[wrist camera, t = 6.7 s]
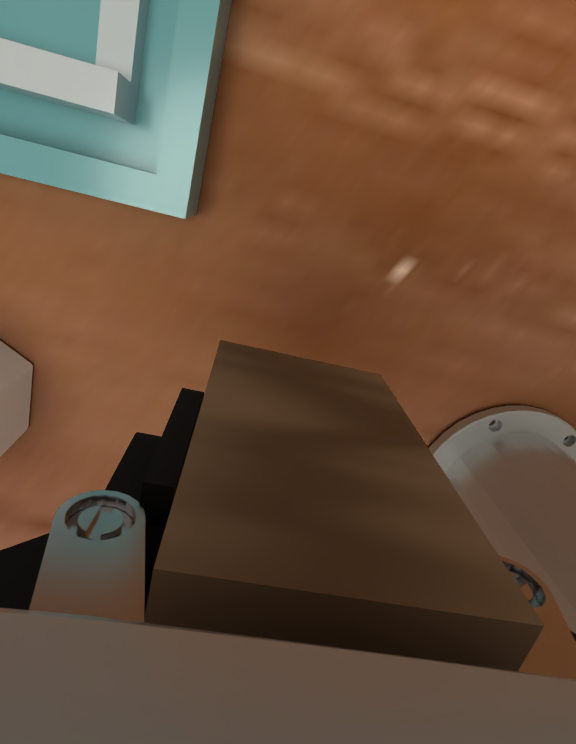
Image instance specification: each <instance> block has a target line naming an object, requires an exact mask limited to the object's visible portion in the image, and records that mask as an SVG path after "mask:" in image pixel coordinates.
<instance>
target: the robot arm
mask: <svg viewBox="0 0 576 744" xmlns="http://www.w3.org/2000/svg"><path fill="white" fill-rule="evenodd" d="M203 398H204V392H200V391H195V390H190V389H185V388H182V390H181V392H180V394H179V397H178V399H177V402H176V404H175V406H174V409H173V411H172V413H171V416H170V418H169V421H168V423H167V425H166V428H165V430H164V432H163V435H162V437H160V436H155V435H150V434H144V433H139V432H137V433H136V434H135V435H134V437H133V439H132V441H131V443H130V444H129V446H128V448H127V450H126V452H125V454H124V456H123V457H122V459H121V461H120V463H119V465H118V467H117V469H116V470H115V472H114V474H113V476H112V478H111V480H110V482H109V484H108V485H107V487H106V489H105V490H96V491H89V492H85V493H81V494H78V495H76V496H74V497H72V498H70V499H68V500H66V501H65V502H64V503H63V504H62V505H61V506H60V507H59V508H58V510H57V512H56V514H55V516H54V519H53V523H52V527H51V530H50V533H48V534H45V535H43V536H40V537H37V538H34V539H31V540H29V541H26V542H23V543H20V544H17V545H15V546H12V547H9V548H6V549H3V550H1V551H0V744H576V430H575V429H574V428H573V427H572V426H571V425H570V424H568V423H567V422H565V421H564V420H563V419H561V418H560V417H558V416H557V415H555V414H553V413H550V412H548V411H546V410H544V409H540V408H535V407H530V406H515V405H509V406H502V407H496V408H491V409H488V410H485V411H482V412H478V413H475V414H473V415H471V416H469V417H467V418H465V419H463V420H461V421H459V422H458V423H456V424H455V425H454V426H452V427H451V428H449V429H448V430H447V431H445V432H444V433H443V434H442V435H441V436H440V437H439V438H438V439H437V440H436V441H435V442H434V443H433V444H432V445H431V446H430V448H429V450H430V451H431V453H432V455H433V456H434V458H435V459H436V461H437V462H438V464H439V465H440V467H441V468H442V470H443V471H444V473H445V474H446V476H447V477H448V479H449V481H450V482H451V484H452V485H453V487H454V488H455V490H456V491H457V493H458V494H459V496H460V497H461V499H462V500H463V502H464V504H465V505H466V507H467V508H468V510H469V511H470V513H471V514H472V516H473V517H474V519H475V520H476V522H477V523H478V525H479V526H480V528H481V530H482V531H483V533H484V534H485V536H486V537H487V539H488V540H489V542H490V543H491V545H492V546H493V548H494V549H495V551H496V553H497V554H498V556H499V557H500V559H501V560H502V562H503V563H504V565H505V566H506V568H507V569H508V571H509V572H510V574H511V575H512V577H513V579H514V580H515V582H516V583H517V585H518V586H519V588H520V589H521V591H522V592H523V594H524V595H525V597H526V598H527V600H528V602H529V603H530V605H531V606H532V608H533V609H534V611H535V612H536V614H537V615H538V617H539V618H540V620H541V621H542V623H543V624H544V628H543V630H542V631H541V633H540V635H539V636H538V638H537V640H536V642H535V643H534V645H533V647H532V648H531V650H530V652H529V653H528V655H527V657H526V658H525V660H524V662H523V664H522V665H521V667H520V669H519V670H518V671H511V670H504V669H496V668H489V667H482V666H474V665H467V664H460V663H452V662H445V661H437V660H430V659H422V658H415V657H407V656H400V655H392V654H385V653H377V652H369V651H362V650H354V649H346V648H339V647H331V646H324V645H316V644H308V643H301V642H293V641H285V640H277V639H269V638H261V637H253V636H245V635H237V634H229V633H221V632H213V631H206V630H198V629H190V628H182V627H174V626H166V625H158V624H150V623H144V618H145V612H146V607H147V601H148V596H149V590H150V584H151V579H152V573H153V568H154V565H155V561H156V558H157V555H158V551H159V548H160V544H161V541H162V538H163V534H164V531H165V527H166V524H167V521H168V517H169V514H170V510H171V507H172V504H173V500H174V497H175V493H176V490H177V487H178V483H179V480H180V476H181V473H182V469H183V466H184V463H185V459H186V456H187V452H188V449H189V446H190V442H191V439H192V435H193V432H194V429H195V425H196V422H197V418H198V415H199V412H200V408H201V405H202V401H203Z"/></svg>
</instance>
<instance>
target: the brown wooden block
mask: <svg viewBox="0 0 576 744" xmlns="http://www.w3.org/2000/svg"><path fill="white" fill-rule="evenodd" d="M144 623H150V624H158V625H166V626H174V627H182V628H190V629H198V630H206V631H213V632H221V633H229V634H237V635H245V636H253V637H261V638H269V639H277V640H285V641H293V642H301V643H308V644H316V645H324V646H331V647H339V648H346V649H354V650H362V651H369V652H377V653H385V654H392V655H400V656H407V657H415V658H422V659H430V660H437V661H445V662H452V663H460V664H467V665H474V666H482V667H489V668H496V669H504V670H511V671H518V670H519V669H520V667H521V665H522V664H523V662H524V660H525V658H526V657H527V655H528V653H529V652H530V650H531V648H532V647H533V645H534V643H535V642H536V640H537V638H538V636H539V635H540V633H541V631H542V630H543V628H544V624H543V623H542V621H541V620H540V618H539V617H538V615H537V614H536V612H535V611H534V609H533V608H532V606H531V605H530V603H529V602H528V600H527V598H526V597H525V595H524V594H523V592H522V591H521V589H520V588H519V586H518V585H517V583H516V582H515V580H514V579H513V577H512V575H511V574H510V572H509V571H508V569H507V568H506V566H505V565H504V563H503V562H502V560H501V559H500V557H499V556H498V554H497V553H496V551H495V549H494V548H493V546H492V545H491V543H490V542H489V540H488V539H487V537H486V536H485V534H484V533H483V531H482V530H481V528H480V526H479V525H478V523H477V522H476V520H475V519H474V517H473V516H472V514H471V513H470V511H469V510H468V508H467V507H466V505H465V504H464V502H463V500H462V499H461V497H460V496H459V494H458V493H457V491H456V490H455V488H454V487H453V485H452V484H451V482H450V481H449V479H448V477H447V476H446V474H445V473H444V471H443V470H442V468H441V467H440V465H439V464H438V462H437V461H436V459H435V458H434V456H433V455H432V453H431V451H430V450H429V448H428V447H427V445H426V444H425V442H424V441H423V439H422V438H421V436H420V435H419V433H418V432H417V430H416V429H415V427H414V425H413V424H412V422H411V421H410V419H409V418H408V416H407V415H406V413H405V412H404V410H403V409H402V407H401V406H400V404H399V402H398V401H397V399H396V398H395V396H394V395H393V393H392V392H391V390H390V389H389V387H388V386H387V384H386V383H385V381H384V380H383V378H382V376H381V375H379V374H375V373H370V372H365V371H361V370H356V369H351V368H347V367H342V366H338V365H333V364H328V363H324V362H319V361H314V360H310V359H305V358H301V357H296V356H291V355H287V354H282V353H277V352H273V351H268V350H263V349H259V348H254V347H250V346H245V345H240V344H236V343H231V342H226V341H222V340H220V344H219V347H218V350H217V354H216V357H215V361H214V364H213V367H212V371H211V374H210V378H209V381H208V384H207V388H206V391H205V395H204V398H203V401H202V405H201V408H200V412H199V415H198V418H197V422H196V425H195V429H194V432H193V435H192V439H191V442H190V446H189V449H188V452H187V456H186V459H185V463H184V466H183V469H182V473H181V476H180V480H179V483H178V487H177V490H176V493H175V497H174V500H173V504H172V507H171V510H170V514H169V517H168V521H167V524H166V527H165V531H164V534H163V538H162V541H161V544H160V548H159V551H158V555H157V558H156V561H155V565H154V568H153V573H152V579H151V584H150V590H149V596H148V601H147V607H146V612H145V618H144Z"/></svg>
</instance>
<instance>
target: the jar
mask: <svg viewBox="0 0 576 744" xmlns="http://www.w3.org/2000/svg"><path fill="white" fill-rule="evenodd" d="M32 374H33V365H32V364H31V363H30V362H29V361H27V360H26V359H25V358H23V357H22V356H21V355H19V354H18V353H17V352H15V351H14V350H12V349H11V348H10V347H8V346H7V345H6V344H4V343H3V342H2V341H0V457H1V456H2V455H3V454H4V453H5V452H6V451H7V450H8V449H9V448H10V447H11V446H12V445H13V444H14V443H15V441H16V440H17V439H18V438H19V437H20V436H21V435H22V434H23V433H24V432H25V431H26V430H27V429H28V427H29V414H30V401H31V387H32Z"/></svg>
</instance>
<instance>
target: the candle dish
mask: <svg viewBox="0 0 576 744" xmlns="http://www.w3.org/2000/svg"><path fill="white" fill-rule="evenodd" d="M231 3H232V0H0V173H2V174H6V175H10V176H14V177H18V178H22V179H26V180H30V181H34V182H38V183H42V184H46V185H50V186H54V187H58V188H62V189H66V190H70V191H74V192H78V193H82V194H87V195H91V196H95V197H99V198H103V199H107V200H111V201H115V202H119V203H123V204H127V205H131V206H135V207H139V208H143V209H147V210H151V211H155V212H159V213H163V214H167V215H171V216H175V217H179V218H183V219H187V218H190V217H193V216H195V215H196V213H197V207H198V201H199V195H200V189H201V183H202V177H203V171H204V165H205V159H206V153H207V147H208V141H209V135H210V129H211V123H212V117H213V111H214V105H215V99H216V93H217V87H218V81H219V75H220V69H221V63H222V57H223V51H224V45H225V39H226V33H227V27H228V21H229V15H230V9H231Z"/></svg>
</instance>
